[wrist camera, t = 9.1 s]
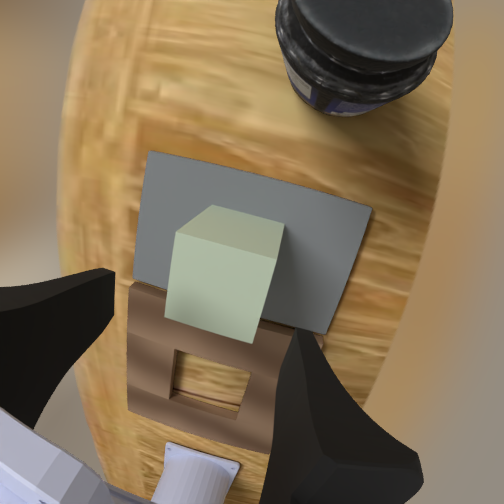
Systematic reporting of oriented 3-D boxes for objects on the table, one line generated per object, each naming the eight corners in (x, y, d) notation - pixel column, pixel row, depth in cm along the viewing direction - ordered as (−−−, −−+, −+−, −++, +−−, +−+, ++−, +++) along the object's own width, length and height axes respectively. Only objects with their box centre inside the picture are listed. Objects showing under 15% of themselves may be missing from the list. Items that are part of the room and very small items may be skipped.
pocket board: (270, 446, 27) (268, 454, 26) (132, 403, 28) (127, 410, 27) (322, 336, 22) (323, 344, 21) (135, 281, 23) (129, 287, 22)
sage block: (266, 289, 21) (252, 343, 15) (199, 270, 21) (164, 316, 15) (284, 223, 19) (277, 259, 14) (211, 204, 19) (175, 231, 14)
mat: (325, 330, 22) (325, 334, 21) (135, 275, 23) (132, 278, 22) (370, 206, 19) (372, 208, 18) (152, 150, 19) (148, 151, 19)
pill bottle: (400, 49, 15) (488, -24, 5) (369, 134, 17) (449, 131, 7) (305, 10, 15) (302, -103, 5) (270, 95, 17) (230, 39, 7)
